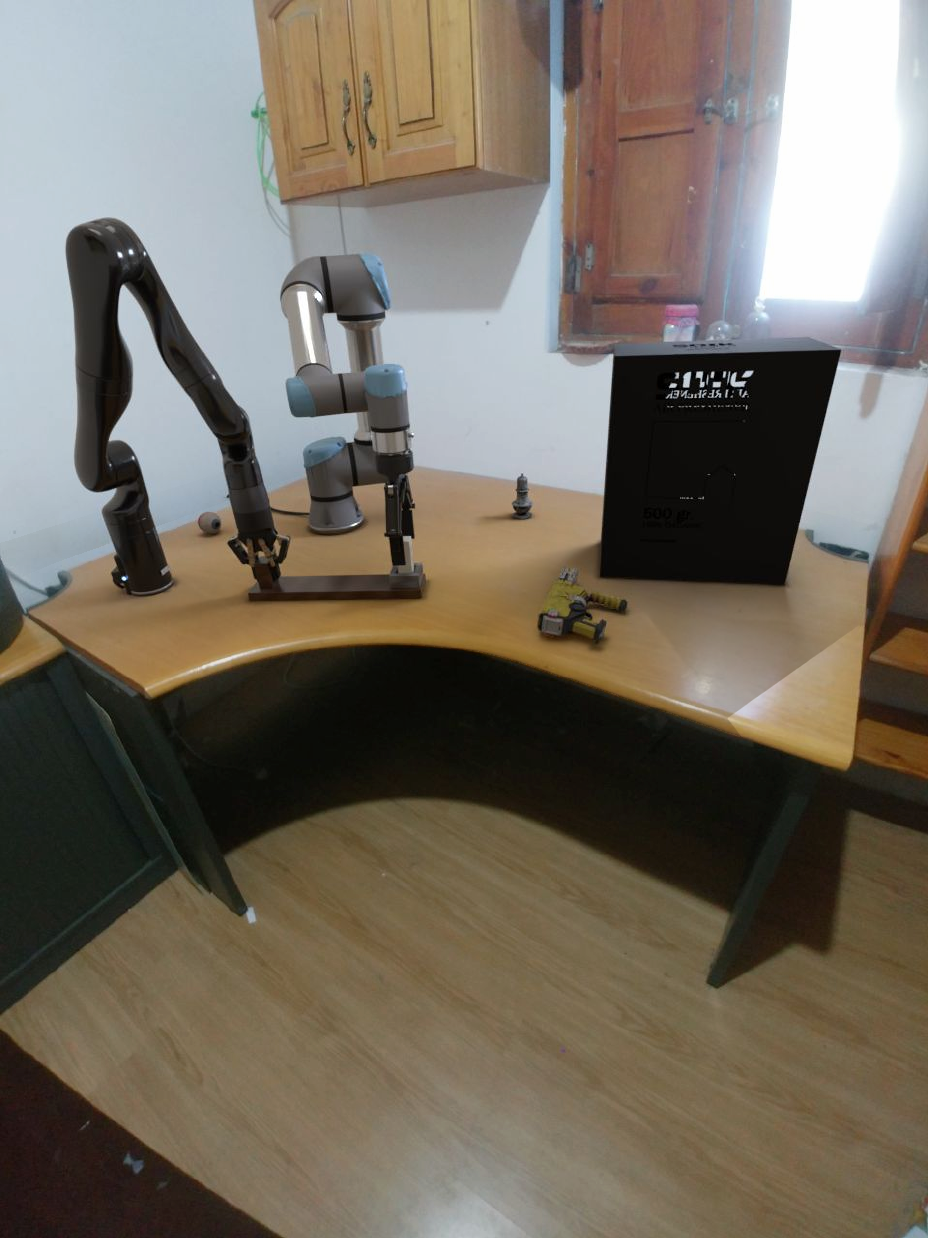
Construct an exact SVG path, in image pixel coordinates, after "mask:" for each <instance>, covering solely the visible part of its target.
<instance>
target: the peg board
mask: <svg viewBox="0 0 928 1238" xmlns="http://www.w3.org/2000/svg"><path fill="white" fill-rule="evenodd" d="M270 566H271V565H270V563H269V561H268V559H267V558H266V557H265V555H260V556H259V558H258V560H257V561H256V562H255V563H254V567H255V571H256V575H257V579H258V582H257V581H256V582H254V585H253V586H252V587H251V588H250V590H249V591H248V592H247V596H248V599H249V602H274V601H275V602H276V601H279V602H280V601H323V600H324V601H325V600H326V601H327V600H329V601H331V600H333V601H334V600H374V599H375V600H380V599H382V600H386V599H389V600H391V599H422V598H423V594H424V591H425V587H426V582H427V576H426V573H424V566H423V562H414V573H403V574H398V566H392V567H391V569H390V571H389V573H385V574H384V573H383V574H380V573H378V574H377V573H376V574H340V575H339V574H338V575H337V574H335V575H334V574H333V575H331V574H330V575H289V576H287V575H286V576H285V575H284V576H283V575H281V576H280V578H279V579H278V580H277V581H273V578H272V574H271V570H270ZM257 579H256V580H257Z"/></svg>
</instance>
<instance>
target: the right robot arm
mask: <svg viewBox="0 0 928 1238" xmlns="http://www.w3.org/2000/svg"><path fill="white" fill-rule="evenodd" d="M279 302H280V307H281V311H282V313H283V314H282V315H284V317H285V318H286V319H287V324H288V325H287V326H288V332H289V333H288V334H289V340H290V348H291V356H292V364H293V369H294V377H288V378H287V379H285V390H286V397H287V402H288V408H289V411H290V414H291V415H292V416H293V417H294V418H317V417H328V416H335V415H344V414H355V415H356V416H355V417H356V422H357V429H356V430H355V431H354V433H353V436H352V437H353V441H350V442H349V441H348V442H347V440H346V439H345V437H343V436H331V437H325V438H321V439H318V440H315V441H313V442H310V443H309V444H308V445H306V446H305V447H304V448H303V450H302V457H303V468H304V469H305V474H306V475H305V476H306V481H307V486H308V492H309V498H310V507H309V512H302V511H289V510H284V509H283V510H282V509H278V508H274V507H272V506H270V508H271V512H276V513H279V514H287V515H297V516H308V521H307V524H308V528H309V529H308V530H310V531H311V532H312V533H314V534H317V535H323V536H324V535H325V536H327V535H329V536H331V535H339V534H340V535H341V534H345V533H350V532H353V531H355V530H357V529H359V528H361V527H362V526H363V525H364V523H365V519H364V514H363V512H362V510H361V505H360V503H358V501H357V500H356V498H355V495H354V489H353V488H354V487H363V486H371V485H379V484H381V485H382V484H384V487H383V491H384V510H385V513H384V514H385V532H383V536H384V538H388V543H389V549H390V550H389V551H390V559H391V566H392V567H393V566H399V565H406V560H405V550H404V541H403V536H411V540H415V538H416V535H415V525H414V516H413V510H414V509H416V503H413V501H414V499H413V494H412V489H411V485H410V479H409V476H408V475H409V473H410V472H412V471H413V470H414V468H415V461H414V452H413V451H412V447H413V445H412V439H413V438H414V437H415V434H414V432H411V423H410V413H409V402H408V400H409V399H408V382H407V379H406V373H405V372H406V371H405V368H404V367H403V365H400V364H396V363H385V357H384V348H383V340H382V339H383V338H382V330H381V326H382V324H383V323H384V322H385V320H386V318H387V317H386V311H388V310H390V309H391V307H392V301H391V294H390V289H389V283H388V279H387V275H386V272H385V268H384V265H383V263H382V260H381V259H380V257H379V256H378V255H377V254H373V253H360V252H359V253H352V254H339V255H321V256H320V255H313V256H311V257H306V258H304V259H303V260H301V261H299V262H298V263H297V264H296V265H295V266H293V267H292V269H291V270H290V271H289V272H288V273H287V275H286V277H285V278H284V280H283V282H282V285H281V288H280V293H279ZM325 314H335V315H336V321H337V323H339V325H341V327H343V328H344V332H345V340H346V347H347V357H348V362H349V370H350V372H343V373H341V372H340V373H333V369H332V368H333V367H332V361H331V356H330V351H329V345H328V340H327V336H326V335H327V334H326V328H325V324H324V319H323V317H324V315H325ZM225 497H226V499H227V498H228V499H229V493H228V494H227V495H226V496H225Z"/></svg>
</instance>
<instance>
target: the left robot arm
mask: <svg viewBox="0 0 928 1238" xmlns="http://www.w3.org/2000/svg"><path fill="white" fill-rule="evenodd" d="M64 248H65V249H64V250H65V251H64V253H65V261H66V269H67V274H68V275H67V276H68V281H69V287H70V295H71V302H72V309H73V310H72V311H73V333H74V349H75V350H74V355H75V356H74V362H75V363H74V368H75V386H76V429H75V430H76V431H75V438H74V449H73V462H74V464H73V465H74V469H75V473H76V476H77V478H78V480H79V482H80V483H81V485H82V486H83V487H84V489H86V490H88V491H90V492H92V493H99V494H100V493H104V492H109V491H112V490H115V492H114V493H113V496H112V497H111V498H110V500H109V501H108V502H107V503H106V504H104V505H103V507H102V508H101V515H102V518H103V521H104V523H105V524H104V525H105V526H106V528H107V532H108V535H109V537H110V540H111V542H112V545H113V548H114V550H115V554H114V555H113V559H114V562H115V565H116V566H115V567H114V568H113V569H112V570H111V572H110V575H111V577H112V582H113V584H114V585H115V586H116V587H117V588H119V589H121V590H124V589H125V591H126V594H127V595H132V596H136V597H145V596H152V595H157V594H159V593H163V592H165V591H167V590H168V589H170V588H171V587H172V586H173V585H174V583H175V581H174V578H173V576H172V573H171V566H170V564H169V563H168V561H167V558H166V554H165V552H164V549H163V546H162V542H161V539H160V536H159V533H158V530H157V526H156V524H155V522H154V518H153V515H152V512H151V509H150V497H149V492H148V489H147V486H146V483H145V478H144V475H143V470H142V468H141V464H140V461H139V458H138V456H137V455H136V452H135V450H134V449H133V448H132V447H131V446H130V444H129V443H127V442H126V441H124V440H122V439H112V440H110V439H111V434H112V433H113V431H114V429H115V427H116V425H117V424H118V422H119V421H120V419H121V418H122V416H123V415H124V413H125V411H126V410H127V408H128V406H129V404H130V402H131V399H132V397H133V390H134V361H133V356H132V353H131V351H130V348H129V346H128V344H127V342H126V340H125V337H124V336H123V333H122V331H121V327H120V323H119V305H120V295H121V290H122V286H124V287H125V288H126V290H128V292H129V293H130V294H131V295H132V297H134V299H135V301H136V303H137V304H138V306H139V307H140V309H141V310H142V312H143V314H144V316H145V318H146V321H147V323H148V325H149V328H150V331H151V333H152V337H153V340H154V342H155V343H154V344H155V345H156V349H157V351H158V354H159V355H160V358H161V360H162V362H163V364H164V365H165V367H166V368H167V370H168V371H169V373H170V374H171V376H172V377H173V378H174V379H175V381H176V382H177V384H178V385H179V386H180V388H181V389H182V390H183V391H184V393H185V394H186V395H187V397H188V398H189V399H190V401H192V403H193V404H194V406H195V409H197V411H198V413H199V415H200V416H201V418H202V419H203V421H204V422H205V424H206V425H207V427H208V429H209V430H210V432H211V433H212V434H213V436H214V437H215V438H216V440H217V443H218V446H219V451H220V454H221V458H222V459H221V460H222V469H223V474H224V478H225V482H226V486H227V490H228V491H227V492H228V494H229V498H228V499H229V504H230V506H231V511H232V514H233V519H234V521H235V527H236V529H237V534H236V536H232V537H231V538H230V539H229V540H228V541H227V543H226V545H227V546H228V547H229V548H230V550H231V551H232V552H233V554H234V555H235V556H236V558H237V559H238V561H239V562H240V564H241V565H248V566H249V567H250V568H251V572H252V576H253V578H254V580H256V582H258V579H257V575H256V571H255V567H254V563H255V562H256V561H257V560H258V558H259V557H260V556H259V555H260V552H261V553H263V554H264V555H263V556H265V557H266V558H267V559H268V561H269V563H270V565H271V566H270V570H271V574H272V578H273V581H277V580H278V579H279V578H280V577H281V576H282V573H281V567H280V565H281V564H283V563H284V561H285V560H286V559H287V556H288V553H289V548H290V543H291V540H292V537H291V536H290V535H289V534H287V535H285V536H284V535H282V534H280V533H279V532H278V530H277V529H276V528H275V523H274V517H273V513H272V510H271V508H270V507H271V504H270V498H269V494H268V492H267V488H266V486H265V482H264V478H263V475H262V474H263V473H262V469H261V465H260V462H259V460H258V457H257V453H256V448H255V444H254V443H255V442H254V437H253V431H252V426H251V425H252V424H251V420H250V417H249V414H248V413H247V411H246V409H244V408H243V407H242V406H241V405H239V404H238V403H237V402H236V401H235V399H234V398H233V396H232V395H231V393H229V391H228V390H227V388H226V387H225V385H224V382H223V379H222V377H221V375H220V374H219V372H218V371H217V370H216V368H215V367H214V365H213V364H212V362H211V361H210V359H209V358H208V356H207V355H206V353H205V351H203V349H202V348H201V346H200V345H199V343H198V342H197V340H196V339H195V337H194V335H193V334H192V332H191V331H190V330H189V328H188V326H187V324H186V323H185V321H184V319H183V318H182V317H183V316H181V314H180V312H179V310H178V308H177V307H176V305H175V303H174V301H173V299H172V297H171V295H170V293H169V291H168V289H167V287H166V286H165V284H164V281H163V280H162V278H161V276H160V274H159V271H158V270H157V268H156V266H155V264H154V262H153V260H152V257H150V254H149V252H148V251H147V249H146V247H145V245H144V243H143V242H142V240H141V238H140V237H139V235H138V234H137V233H136V232H135V231H134V229H133V228H132V227H131V226H130V225H129V224H128V223H126V222H124V221H123V220H121V219H119V218H116V217H108V216H107V217H106V216H105V217H100V218H96V219H94V220H90V221H86V222H83V223H80V224H78V225H75V226H74V227H72V229H71V230H70V231H69V232H68V234H67V236H66V239H65V247H64ZM276 541H277V543H278V546H279V550H278V553H277V549H276V547H275V543H276ZM242 544H243V545H244V546H245V547H246V548H247V550H246V549H245V547H244V546H243V545H242Z"/></svg>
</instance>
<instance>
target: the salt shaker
mask: <svg viewBox="0 0 928 1238" xmlns="http://www.w3.org/2000/svg"><path fill="white" fill-rule="evenodd" d="M529 490H530V489H529V488H528V477H527V476H525V475H524V472H521V474H520V476H518V477H517V478H516V488H515V492H516V498H515V500H514V501H511V505H512V509H513V510H514V513H512V517H513V518H515V519H518V520H519V519H521V520H523V519H529V518H532V516H533V514H532V513H531V512H530V511H531V509H532V506H533V504H534V502H533V501H532V500H530V499H529Z"/></svg>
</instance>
